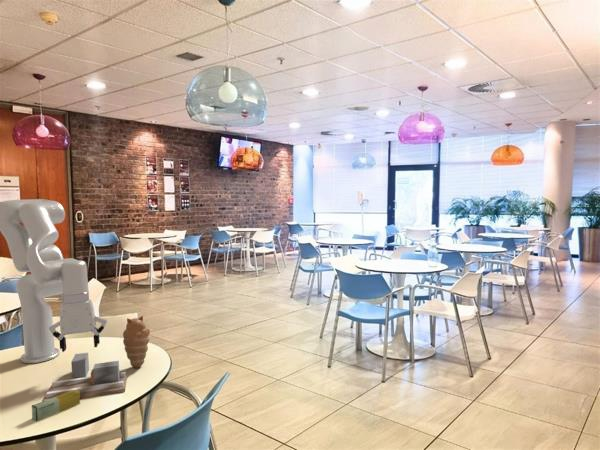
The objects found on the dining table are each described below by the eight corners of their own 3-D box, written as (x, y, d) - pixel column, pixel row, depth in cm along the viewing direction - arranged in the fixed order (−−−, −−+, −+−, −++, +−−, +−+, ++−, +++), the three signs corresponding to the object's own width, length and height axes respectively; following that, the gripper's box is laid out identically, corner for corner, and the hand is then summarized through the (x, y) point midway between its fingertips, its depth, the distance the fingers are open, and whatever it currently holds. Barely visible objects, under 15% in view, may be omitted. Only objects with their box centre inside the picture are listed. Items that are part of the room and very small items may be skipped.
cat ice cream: (127, 374, 143) (124, 322, 142) (121, 366, 150) (118, 316, 148) (154, 367, 149) (151, 316, 147) (147, 360, 155) (144, 311, 153)
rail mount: (43, 404, 124) (41, 381, 124) (52, 386, 136) (51, 365, 135) (124, 391, 131) (123, 369, 131) (127, 375, 143) (126, 355, 142)
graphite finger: (72, 379, 141) (71, 361, 140) (76, 370, 148) (75, 353, 147) (85, 377, 142) (84, 360, 141) (89, 368, 149) (88, 351, 149)
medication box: (35, 422, 115) (34, 408, 115) (31, 419, 117) (30, 405, 116) (80, 404, 124) (80, 391, 124) (76, 401, 126) (75, 388, 126)
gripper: (43, 303, 136) (48, 356, 137) (103, 297, 141) (107, 348, 142) (49, 298, 143) (53, 348, 144) (106, 292, 148) (109, 341, 149)
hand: (80, 348), depth 143 cm, fingers open, 9 cm apart
